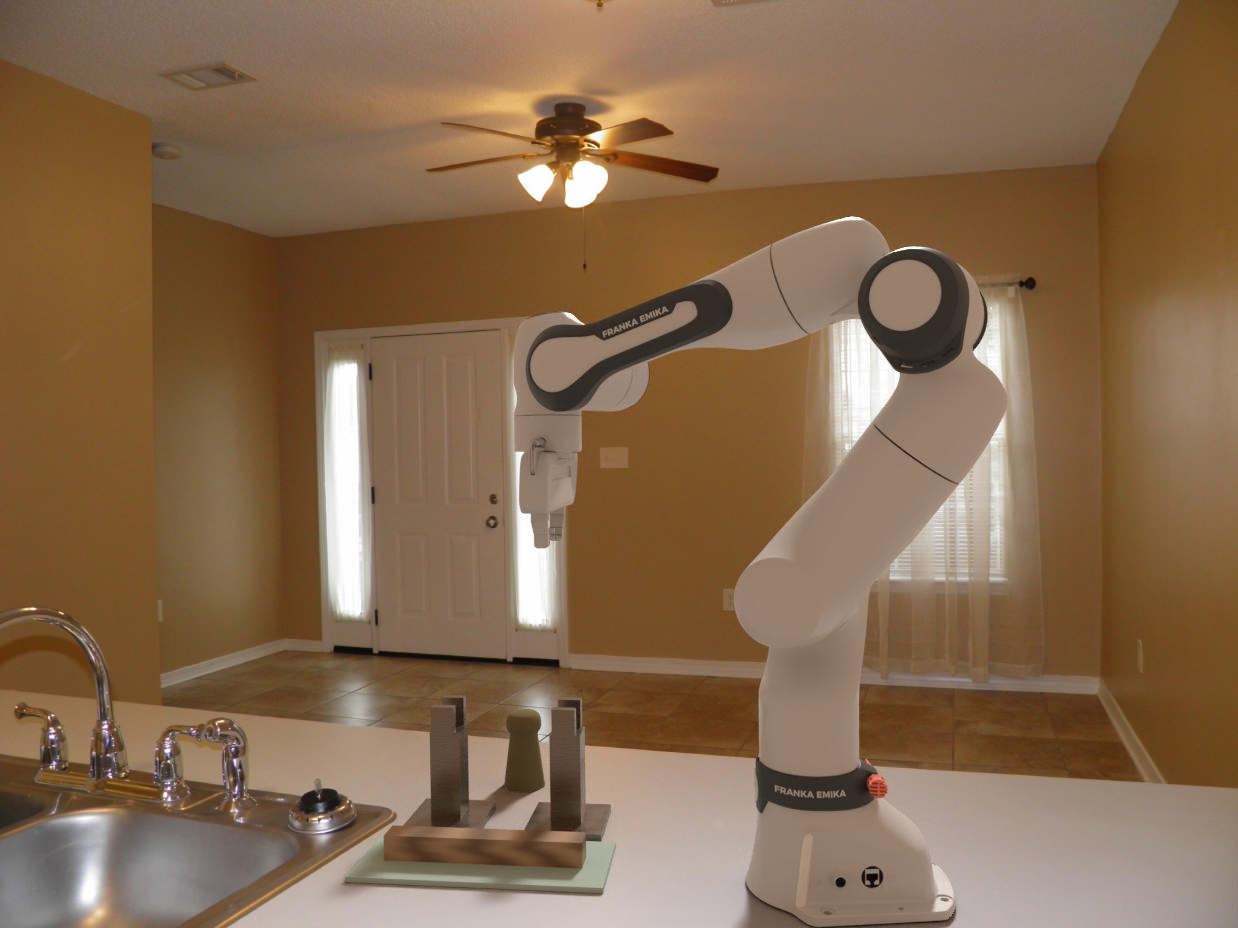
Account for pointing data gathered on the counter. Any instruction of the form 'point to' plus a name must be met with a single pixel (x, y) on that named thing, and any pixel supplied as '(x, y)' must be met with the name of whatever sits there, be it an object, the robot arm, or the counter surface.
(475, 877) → the green mat
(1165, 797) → the counter surface
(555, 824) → the cradle posts
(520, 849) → the walnut rail
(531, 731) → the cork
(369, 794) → the counter surface
